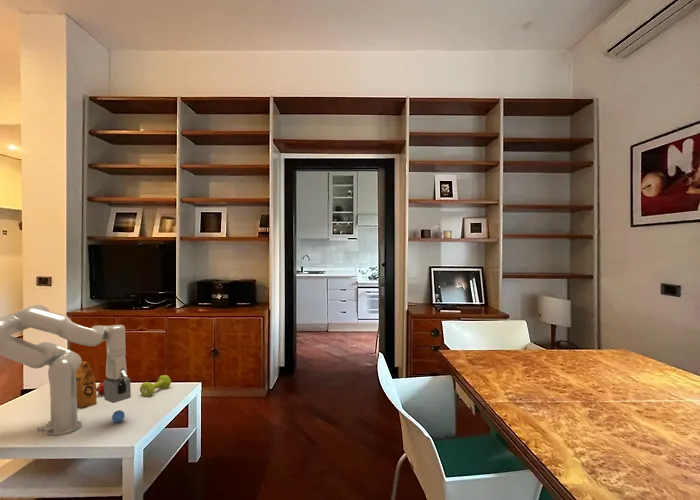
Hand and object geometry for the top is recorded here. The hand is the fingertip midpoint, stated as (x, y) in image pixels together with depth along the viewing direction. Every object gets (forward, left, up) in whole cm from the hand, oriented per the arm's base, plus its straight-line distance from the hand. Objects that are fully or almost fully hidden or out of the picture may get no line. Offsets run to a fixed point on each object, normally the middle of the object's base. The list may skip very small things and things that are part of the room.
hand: (117, 391), depth 187 cm
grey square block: (0, 0, -3) cm, 3 cm away
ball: (0, 0, -12) cm, 12 cm away
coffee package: (+1, +37, -14) cm, 40 cm away
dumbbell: (+32, +23, -14) cm, 42 cm away
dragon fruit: (+15, +42, -14) cm, 47 cm away
